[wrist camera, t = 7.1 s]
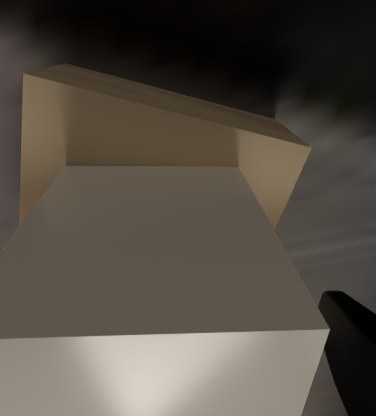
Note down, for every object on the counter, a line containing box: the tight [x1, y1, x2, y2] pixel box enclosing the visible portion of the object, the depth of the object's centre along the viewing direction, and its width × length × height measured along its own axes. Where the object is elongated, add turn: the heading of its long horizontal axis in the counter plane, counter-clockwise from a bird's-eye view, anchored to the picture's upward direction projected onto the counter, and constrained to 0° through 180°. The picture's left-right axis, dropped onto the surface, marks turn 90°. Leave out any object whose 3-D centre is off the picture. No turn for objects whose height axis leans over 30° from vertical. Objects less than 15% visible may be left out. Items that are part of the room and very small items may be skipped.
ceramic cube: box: [0, 166, 330, 416], centre depth 8 cm, size 5×5×6 cm
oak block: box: [19, 63, 311, 230], centre depth 12 cm, size 8×8×4 cm
